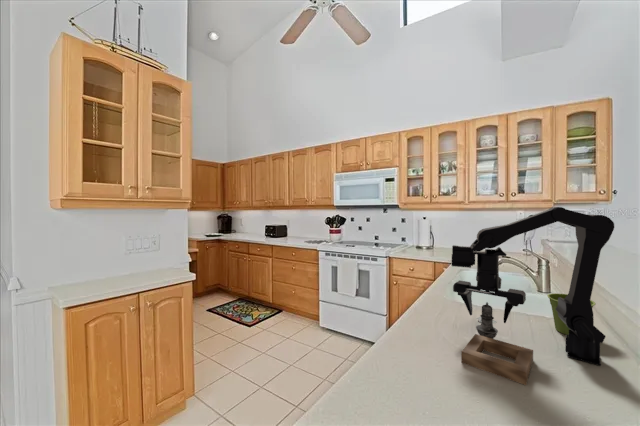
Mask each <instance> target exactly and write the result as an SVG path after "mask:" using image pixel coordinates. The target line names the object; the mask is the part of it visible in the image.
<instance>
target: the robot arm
mask: <svg viewBox="0 0 640 426" xmlns="http://www.w3.org/2000/svg"><path fill="white" fill-rule="evenodd" d="M557 222H559V223H561V224H565V225H567V226H569V227H573V228H575V237H576V241H577V250H576V256H575V261H574V266H573V270H572V275H571V280H570V285H569V290H568V293H567V294H568V295H567V296H566V297H565V298H564V299H563V298H561V297H558V306H557V307H556V309H555V310H556V311H557V312H558V316H559V318H560V319H561V320H562V321H563V322H564V323H565V324H566V325H567V327H568V328H569V329H570V330H569V335H566V334H565V347H564V348H565V350H564V351H565V353H567V357H568V358H571V359H575V360H577V361H582V362H585V363H589V364H593V365H596V366H601V365H602V362H601V361H602V360H601V344H603V343H604V341H605V339H606V334H604V333H603V332H602V331H600V330H599V329H598V327H596V326H595V325H594V324H595V323H594V311H593V308H592V306H591V301H590V300H591V298H592V294H593V289H594V283H595V279H596V274H597V269H598V265H599V260H600V257H601V251H602V250H603V248H604V246H606V245H607V243H608V242H609V240H610V238H611V237H612V234H613V232H614V231H615V222H614V221H613V220H612V219H611V218H610V217H608V216H606V215H601V214H586V213H582V212H578V211H575V210H570V209H567V208H564V207H563V206H553V207H550V208H548V209H545V210H543V211H541V212H539V213H535V214H533V215H530V216H526V217H524V218H520V219H518V220H516V221H513V222H510V223H507V224H503V225H502V224H501V225H495V226H492V227H486V228H482V229H480V230H479V231H478V232H477V234H476V239H475V240H474V241H473V242H472V243H471V245H470V246H463V245H462V246H461V245H456V244H455V245H454V244H453V245H452V247H451V248H452V250H451V252H452V253H451V267H456V268H460V267H461V268H470V269H471V268H472V266H474V265H476V264H477V265H476V276H475V278H476V285H472V284H471V283H472V282H471V281H465V280H459V279H458V281H456V282H455V283H453V285H452V290H453V292H454V293H457V295H458V296H460V297H461V299H462V301H463V302H464V305H465V307H466V309H467V311H468V313H469V315H470V316H472V315H473V303H472V302H473V301H472V300H473V299H472V295H473V294H472V293H478V294H484V295H489V296H493V297H494V296H495V297H501V298H506V301H505V302H504V311H503V323H504V324H506V323H507V321H508V319H509V316H510V314H511V311H512V309H513V308H514V307H519V305H525V302H526V300H527V298H526V297H527V296H526V295H527V294H526V292H525V291H524V290H521V289H515V288H509V289H508V290H507V291H506V290H502V289H501V288H502V277H500V275H499V271H500V270H499V264H500V263H499V261H500V259H499V257H506V256H507V253H506V252H504V251H503V250H502V248H501V247H500V245H502V244H504V243H506V242H507V241H508V240H511V239H512V238H515V237H517V236H519V235H521V234H526V233H528V232H531V231H533V230H537V229H539V228H543V227H545V226H549V225H552V224H554V223H557ZM494 248H496V249H494ZM483 250H484V251H483ZM476 257H477V259H476ZM476 261H477V263H476ZM500 289H501V290H500Z"/></svg>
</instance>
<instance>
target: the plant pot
mask: <svg viewBox="0 0 640 426" xmlns="http://www.w3.org/2000/svg"><path fill="white" fill-rule="evenodd" d="M567 295H568V293H548V294H547V298H548V299H549V304H550V305H551V311H552V318H553V322H554V327H555V330H556V331H557V332H559V333H561V334H564V335H565V336H566V335H569V330H570V329H569V328H568V327H567V325H566V324H565V323H564V322H563V321H562V320H561V319H560V318H559V316H558V312H557V311H556V310H555V309H556V307H557V306H558V297H561V298H563V299H564V298H565V297H566V296H567ZM590 301H591V306H592V309H593V308H594V307H595V306H596V302H595V301H593V300H591V299H590Z"/></svg>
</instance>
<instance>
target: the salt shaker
mask: <svg viewBox="0 0 640 426" xmlns="http://www.w3.org/2000/svg"><path fill="white" fill-rule="evenodd" d="M479 317H481V323H480V324H478V325H476V326H475V329H476V331H477V333H478V335H481V336H485V337H488V338H492V339H495V338H496V336H497V334H498V333H499V330H498V329H497V328H495V327H494V324H493V320H494V319H495V318H494V316H493V307H492V305H489V303H488V302H485V304H483V305H482V306H481V314H480V315H479Z"/></svg>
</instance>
